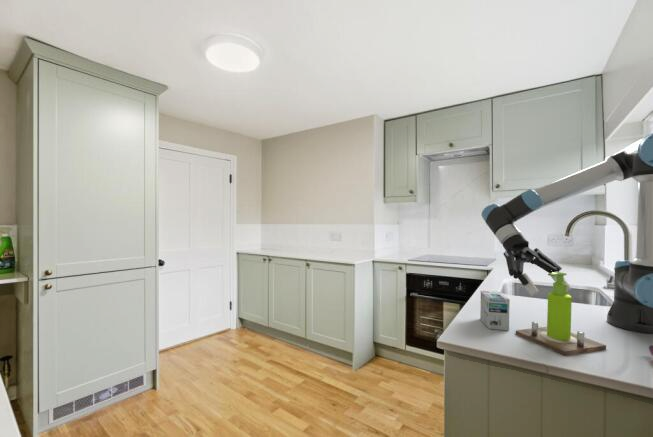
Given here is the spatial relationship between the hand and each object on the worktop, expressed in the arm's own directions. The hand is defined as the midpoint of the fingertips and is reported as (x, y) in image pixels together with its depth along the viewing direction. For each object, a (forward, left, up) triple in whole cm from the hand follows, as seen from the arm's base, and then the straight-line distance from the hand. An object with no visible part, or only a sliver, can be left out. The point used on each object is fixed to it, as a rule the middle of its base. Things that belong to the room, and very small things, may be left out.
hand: (551, 292), depth 99 cm
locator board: (0, +2, -15) cm, 15 cm away
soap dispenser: (0, +2, -14) cm, 14 cm away
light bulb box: (+8, -15, -15) cm, 22 cm away
